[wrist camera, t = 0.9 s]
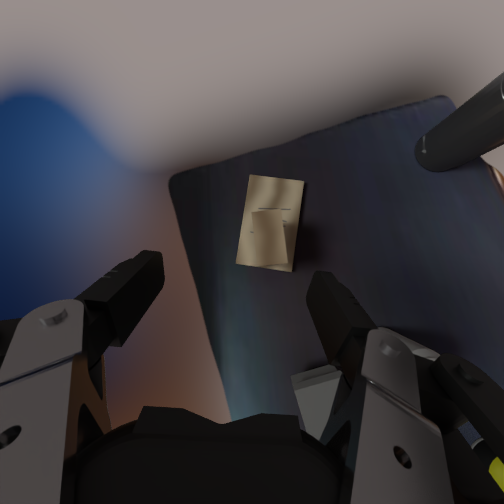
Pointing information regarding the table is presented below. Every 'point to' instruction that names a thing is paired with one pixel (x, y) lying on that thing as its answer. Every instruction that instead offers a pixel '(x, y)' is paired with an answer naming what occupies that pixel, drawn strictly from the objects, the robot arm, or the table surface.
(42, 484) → the robot arm
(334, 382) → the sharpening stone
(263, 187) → the board
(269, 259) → the block
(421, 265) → the table surface
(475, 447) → the flashlight
